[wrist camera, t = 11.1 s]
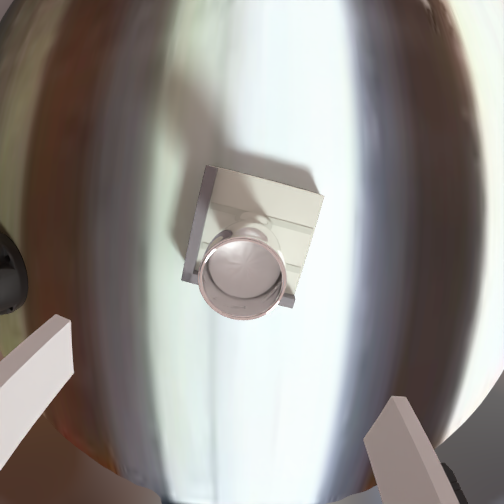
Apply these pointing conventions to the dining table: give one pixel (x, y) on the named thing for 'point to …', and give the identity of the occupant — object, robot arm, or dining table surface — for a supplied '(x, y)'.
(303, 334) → the dining table surface
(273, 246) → the beer glass
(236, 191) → the dock
